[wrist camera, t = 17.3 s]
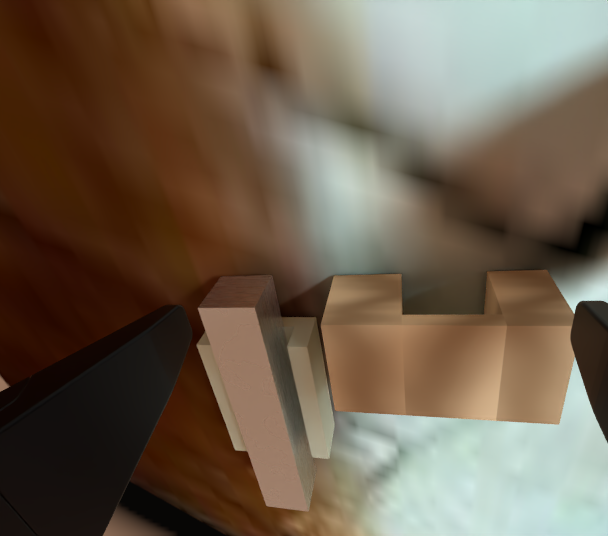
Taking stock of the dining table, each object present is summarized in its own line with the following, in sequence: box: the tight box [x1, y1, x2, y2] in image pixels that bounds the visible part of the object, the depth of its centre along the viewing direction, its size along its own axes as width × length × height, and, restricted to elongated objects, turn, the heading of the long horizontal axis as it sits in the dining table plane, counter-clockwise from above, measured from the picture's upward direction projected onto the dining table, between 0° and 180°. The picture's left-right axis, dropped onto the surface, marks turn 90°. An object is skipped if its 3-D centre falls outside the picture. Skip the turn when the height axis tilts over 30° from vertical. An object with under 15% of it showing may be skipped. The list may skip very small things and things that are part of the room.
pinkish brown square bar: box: [198, 275, 316, 511], centre depth 26 cm, size 18×3×3 cm, turn 9°
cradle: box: [197, 317, 335, 459], centre depth 27 cm, size 7×10×3 cm
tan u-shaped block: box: [321, 270, 575, 424], centre depth 21 cm, size 11×6×5 cm, turn 99°
